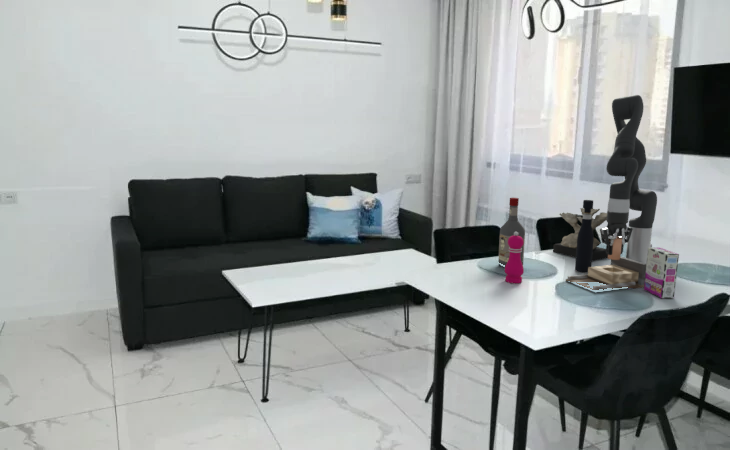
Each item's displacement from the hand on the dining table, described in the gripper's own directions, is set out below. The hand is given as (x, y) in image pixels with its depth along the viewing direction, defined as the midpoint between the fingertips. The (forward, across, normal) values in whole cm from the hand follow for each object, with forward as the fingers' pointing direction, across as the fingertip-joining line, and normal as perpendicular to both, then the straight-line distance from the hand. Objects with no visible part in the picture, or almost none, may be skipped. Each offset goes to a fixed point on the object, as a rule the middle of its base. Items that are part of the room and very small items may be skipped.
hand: (614, 253), depth 208 cm
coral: (+12, -24, -45) cm, 53 cm away
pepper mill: (+12, +35, -14) cm, 39 cm away
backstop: (+12, +3, 0) cm, 12 cm away
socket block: (+11, 0, 0) cm, 11 cm away
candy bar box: (+12, -6, +16) cm, 21 cm away
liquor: (+12, +22, -35) cm, 43 cm away
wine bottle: (+12, -2, -19) cm, 23 cm away
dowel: (+2, 0, 0) cm, 2 cm away
